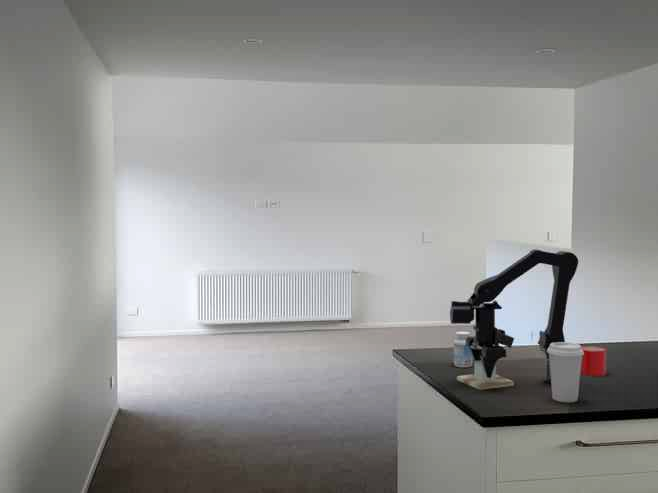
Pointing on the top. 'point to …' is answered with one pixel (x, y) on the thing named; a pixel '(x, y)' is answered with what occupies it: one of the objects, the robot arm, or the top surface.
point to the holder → (485, 382)
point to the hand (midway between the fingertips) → (485, 374)
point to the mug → (593, 361)
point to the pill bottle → (462, 350)
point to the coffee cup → (565, 370)
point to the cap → (483, 372)
